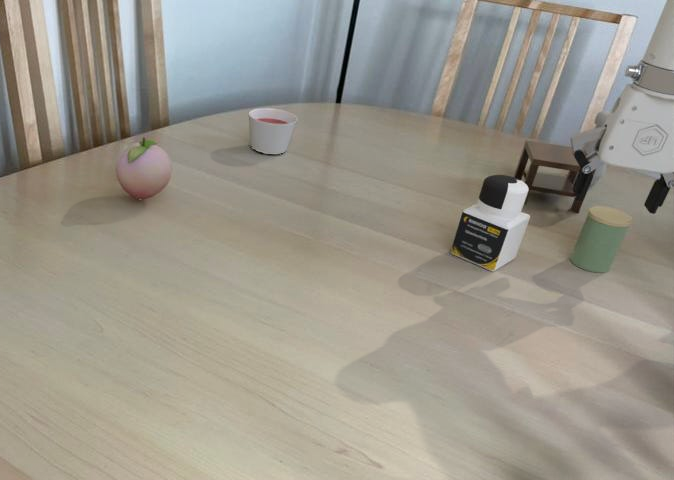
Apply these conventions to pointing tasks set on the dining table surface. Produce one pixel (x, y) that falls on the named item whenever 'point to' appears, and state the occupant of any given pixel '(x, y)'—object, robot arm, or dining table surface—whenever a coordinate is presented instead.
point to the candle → (271, 129)
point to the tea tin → (600, 239)
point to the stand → (554, 159)
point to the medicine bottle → (493, 224)
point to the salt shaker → (590, 146)
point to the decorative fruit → (143, 169)
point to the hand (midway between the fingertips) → (613, 203)
